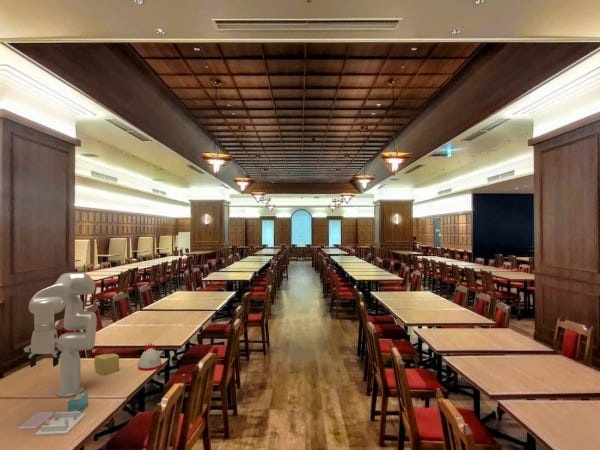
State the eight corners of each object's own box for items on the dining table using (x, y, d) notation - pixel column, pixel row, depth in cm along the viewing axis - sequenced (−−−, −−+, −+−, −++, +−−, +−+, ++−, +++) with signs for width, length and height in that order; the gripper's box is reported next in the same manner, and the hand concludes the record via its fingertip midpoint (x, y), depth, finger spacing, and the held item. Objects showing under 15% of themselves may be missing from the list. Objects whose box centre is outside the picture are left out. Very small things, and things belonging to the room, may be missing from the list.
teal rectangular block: (77, 405, 202) (77, 393, 203) (87, 405, 203) (87, 392, 203) (67, 414, 193) (67, 401, 193) (78, 414, 193) (78, 401, 193)
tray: (56, 416, 190) (56, 407, 190) (85, 415, 191) (85, 406, 191) (34, 435, 172) (34, 425, 172) (67, 434, 173) (67, 424, 173)
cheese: (110, 367, 259) (110, 352, 260) (119, 371, 253) (119, 354, 253) (94, 372, 251) (94, 356, 251) (103, 376, 245) (103, 359, 245)
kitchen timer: (134, 367, 260) (134, 343, 261) (155, 362, 270) (155, 339, 270) (143, 372, 250) (143, 347, 250) (165, 367, 260) (165, 343, 260)
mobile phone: (17, 427, 179) (37, 412, 194) (17, 429, 179) (37, 414, 194) (35, 426, 180) (54, 411, 195) (35, 428, 180) (54, 413, 195)
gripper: (68, 325, 188) (68, 362, 188) (29, 326, 187) (29, 363, 187) (59, 329, 181) (59, 368, 181) (19, 330, 180) (19, 369, 180)
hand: (44, 366), depth 184 cm, fingers open, 9 cm apart
